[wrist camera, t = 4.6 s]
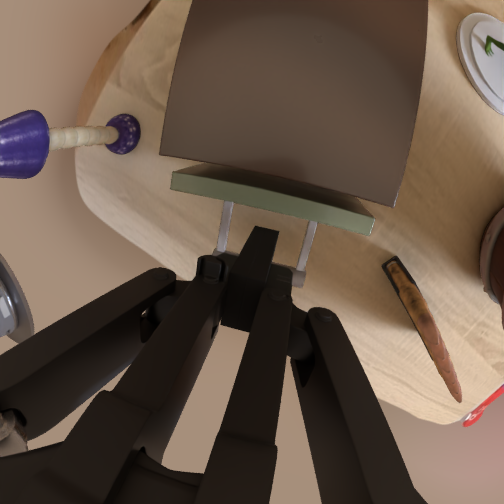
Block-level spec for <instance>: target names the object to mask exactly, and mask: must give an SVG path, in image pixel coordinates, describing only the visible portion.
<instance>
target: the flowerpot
mask: <svg viewBox="0 0 504 504" xmlns="http://www.w3.org/2000/svg"><path fill="white" fill-rule="evenodd" d="M479 262H480V273H481V279H482V282H483V285H484V288H483V290H484V292H486V293H488V295H489V297H490V298H491V299H492V300H493V301H494V302H496V303H497V304H500V306H501V309H502V325H503V329H504V207H503V208H502V209H501V210H500V211H499V213H498V214H497V215H496V216H494V217H493V218H492V220H491V221H490V223H489V224H488V226H487V228H486V230H485V232H484V235H483V238H482V242H481V248H480V259H479Z"/></svg>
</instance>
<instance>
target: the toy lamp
mask: <svg viewBox="0 0 504 504" xmlns="http://www.w3.org/2000/svg"><path fill="white" fill-rule="evenodd" d="M139 138H140V127H139V123H138V121H137V120H136V119H135V118H134V117H133V116H132V115H129V114H120V115H117V116H115V117H113V118H112V119H111V120H110V121H109V122H108V123H107V125H106V126H105V127H103V126H97V127H93V126H87V127H82V126H76V127H73V128H71V127H63V128H61V129H59V128H50V129H49V127H48V124H47V122H46V119H45V118H44V116H43V115H42V114H41V113H40V112H39V111H36V110H27V111H24V112H21V113H18V114H16V115H13V116H11V117H9V118H6V119H4V120H2V121H0V177H1V178H17V179H27V178H31V177H33V176H35V175H37V174H38V173H39V172H40V171H41V169H42V168H43V166H44V164H45V162H46V158H47V156H48V153H49V151H55V150H58V149H59V148H61V149H68V148H70V147H81V146H92V145H94V144H95V145H102V144H105V145H106V147H107V148H108V149H109V150H110V151H111V152H113V153H116V154H126V153H128V152H130V151H132V150H133V149H134V148H135V146H136V145H137V143H138V140H139Z"/></svg>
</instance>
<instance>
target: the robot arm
mask: <svg viewBox="0 0 504 504" xmlns="http://www.w3.org/2000/svg"><path fill="white" fill-rule="evenodd" d="M278 235H279V231H276V230H272V229H267V228H263V227H259V226H255V227H254V229H253V231H252V232H251V234H250V236H249V238H248V239H247V241H246V243H245V245H244V247H243V248H242V250H241V252H240V254H239V256H236V255H232V254H228V253H222V254H219V255H217V256H214V255H204V256H201V257H199V258H198V261H197V270H196V276H195V277H194V279H193V280H192V281H181V280H176V274H175V272H173V271H172V270H169V269H166V268H161V267H159V268H153V269H150V270H148V271H146V272H144V273H143V274H141V275H139V276H137V277H135V278H133V279H132V280H130V281H128V282H126V283H124V284H122V285H120V286H119V287H117V288H115V289H114V290H111V291H110V292H108V293H106V294H104V295H102V296H100V297H99V298H97V299H95V300H93V301H92V302H90V303H88V304H86V305H84V306H83V307H81V308H79V309H77V310H76V311H74V312H72V313H71V314H69V315H67V316H65V317H63V318H62V319H60V320H58V321H57V322H55V323H53V324H52V325H50V326H48V327H46V328H45V329H43V330H41V331H40V332H38V333H36V334H35V335H33V336H31V337H29V338H28V339H26V340H24V341H23V342H21V343H20V344H18V345H16V346H15V347H13V348H12V349H10V350H8V351H6V352H5V353H3V354H2V355H0V504H269V501H270V495H271V490H272V484H273V478H274V472H275V466H276V460H277V451H278V450H277V446H276V445H275V437H276V430H277V423H278V417H279V410H280V403H281V396H282V388H283V380H284V373H285V365H286V357H287V355H288V356H289V357H291V359H290V360H291V361H290V363H291V367H292V371H293V376H294V380H295V384H296V389H297V393H298V397H299V402H300V406H301V411H302V415H303V420H304V423H305V428H306V433H307V437H308V442H309V446H310V451H311V455H312V460H313V464H314V469H315V474H316V478H317V483H318V487H319V492H320V497H321V502H322V504H428V503H427V502H426V501H425V500H424V499H423V498H422V497H421V495H420V494H419V493H418V492H417V491H416V489H415V488H414V486H413V484H412V481H411V479H410V476H409V474H408V471H407V468H406V466H405V463H404V461H403V458H402V456H401V453H400V451H399V449H398V446H397V444H396V442H395V439H394V437H393V434H392V432H391V430H390V427H389V425H388V423H387V420H386V418H385V416H384V414H383V412H382V409H381V407H380V405H379V402H378V400H377V398H376V396H375V393H374V391H373V389H372V387H371V385H370V382H369V380H368V378H367V376H366V374H365V372H364V369H363V367H362V365H361V363H360V361H359V359H358V357H357V355H356V353H355V351H354V349H353V346H352V344H351V342H350V340H349V338H348V336H347V334H346V332H345V330H344V328H343V326H342V324H341V322H340V320H339V318H338V317H337V315H336V314H335V313H333V312H332V311H331V310H329V309H326V308H321V307H313V308H311V309H310V310H309V311H308V313H307V312H305V311H303V310H301V309H299V308H297V307H296V306H295V305H294V304H293V303H292V301H293V300H292V297H291V290H292V279H293V272H292V271H291V269H290V268H287V267H283V266H279V265H275V264H272V260H273V256H274V251H275V247H276V243H277V239H278ZM145 310H146V313H144V314H143V315H142V313H143V312H144V311H145ZM220 320H221V325H223V326H227V327H231V328H234V329H238V330H242V331H246V332H249V337H248V340H247V343H246V347H245V350H244V353H243V357H242V360H241V363H240V366H239V370H238V373H237V376H236V379H235V383H234V386H233V389H232V392H231V395H230V399H229V402H228V405H227V408H226V411H225V414H224V417H223V421H222V424H221V427H220V430H219V432H218V434H217V436H216V439H215V442H214V445H213V448H212V451H211V454H210V457H209V460H208V463H207V466H206V469H205V472H204V474H203V473H190V472H181V471H173V470H170V469H167V468H166V467H164V466H163V465H161V463H162V458H163V454H164V451H165V449H166V447H167V445H168V442H169V440H170V438H171V435H172V433H173V431H174V428H175V427H176V424H177V422H178V420H179V418H180V415H181V413H182V411H183V408H184V406H185V404H186V402H187V399H188V397H189V395H190V393H191V391H192V388H193V386H194V384H195V381H196V379H197V377H198V375H199V372H200V370H201V368H202V366H203V363H204V361H205V359H206V357H207V354H208V352H209V350H210V348H211V345H212V343H213V341H214V338H215V336H216V334H217V332H218V326H219V322H220ZM18 325H19V318H18V313H17V309H16V306H15V304H14V301H13V299H12V296H11V294H10V292H9V290H8V288H7V286H6V284H5V283H4V281H3V279H2V278H1V276H0V337H2V336H4V335H8V334H10V333H12V332H13V331H15V330H16V329H17V328H18ZM130 364H131V365H130ZM129 365H130V366H129ZM128 366H129V368H128V369H127V371H126V372H125V373H124V375H123V376H122V378H121V379H120V381H119V382H118V384H117V385H116V386H115V388H114V389H113V390H112V391H106V390H103V391H101V392H99V393H98V394H97V395H96V396H95V398H94V399H93V400H92V402H91V403H90V405H89V406H88V407H87V409H86V410H85V412H84V413H83V414H82V416H81V417H80V419H79V420H78V422H77V423H76V424H75V426H74V428H73V429H72V430H71V432H70V433H69V435H68V436H67V437H66V439H65V440H64V441H62V442H59V443H55V444H52V445H48V446H45V447H41V448H37V449H34V450H29V451H28V446H27V441H29V440H32V439H34V438H36V437H38V436H40V435H42V434H44V433H46V432H47V431H48V430H50V429H51V428H53V427H54V426H56V425H57V424H58V423H59V422H60V421H62V420H63V419H64V418H65V417H67V416H68V415H69V414H70V413H72V412H73V411H74V410H75V409H76V408H77V407H79V406H80V405H81V404H83V403H84V402H85V401H86V400H87V399H89V398H90V397H91V396H92V395H94V394H95V393H96V392H97V391H98V390H100V389H101V388H102V387H103V386H105V385H106V384H107V383H108V382H109V381H110V380H112V379H113V378H114V377H115V376H117V375H118V374H119V373H120V372H122V371H123V370H124V369H125V368H126V367H128Z"/></svg>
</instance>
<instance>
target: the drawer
mask: <svg viewBox="0 0 504 504" xmlns="http://www.w3.org/2000/svg"><path fill="white" fill-rule="evenodd" d="M170 189H171V190H175V191H180V192H185V193H190V194H195V195H200V196H205V197H210V198H214V199H219V200H224V205H223V211H222V217H221V223H220V230H219V236H218V242H217V248H215V250H214V251H213V254H212V255H214V256H217V255H219V254H222V253H228V254H232V255H236V256H239V254H238V253H234V252H230V251H226V245H227V239H228V233H229V227H230V222H231V216H232V210H233V205H234V203H238V204H242V205H247V206H251V207H255V208H260V209H264V210H268V211H273V212H277V213H281V214H285V215H289V216H294V217H298V218H302V219H306V220H309V221H308V225H307V229H306V233H305V237H304V240H303V244H302V248H301V251H300V255H299V258H298V262H297V266H296V268H295V267H291V266H287V265H283V264H279V263H275V262H272V264H275V265H279V266H283V267H287V268H290V269H291V271H292V272H293V279H292V286H294V287H298V288H302V287H303V284H304V281H305V277H306V270H304V269H305V266H306V263H307V259H308V256H309V252H310V249H311V245H312V242H313V238H314V235H315V231H316V227H317V224H318V223H321V224H325V225H329V226H333V227H337V228H341V229H344V230H348V231H352V232H356V233H359V234H363V235H366V236H370V234H371V231H372V228H373V225H374V221H375V218H374V216H373V215H372V214H371V213H370V212H369V211H368V210H367V209H366V208H365V207H364V206H363V204H362V203H361V202H360V201H359V200H358V199H357V198H356V197H354V196H351V195H347V194H344V193H340V192H337V191H333V190H329V189H325V188H322V187H318V186H314V185H310V184H306V183H302V182H298V181H294V180H289V179H285V178H281V177H276V176H272V175H267V174H263V173H258V172H253V171H248V170H244V169H239V168H233V167H228V166H223V165H218V164H212V163H203V164H199V165H195V166H191V167H188V168H184V169H180V170H177V171H173V172H172V179H171V187H170Z"/></svg>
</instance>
